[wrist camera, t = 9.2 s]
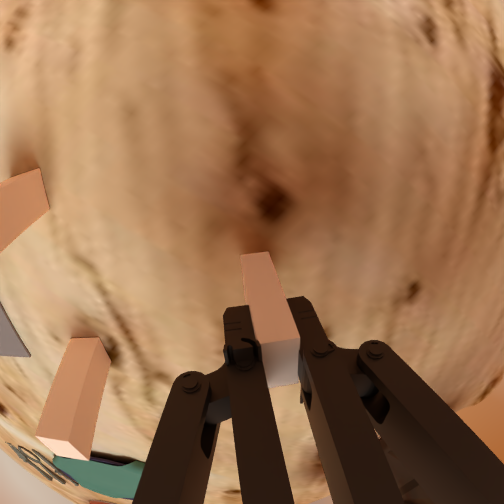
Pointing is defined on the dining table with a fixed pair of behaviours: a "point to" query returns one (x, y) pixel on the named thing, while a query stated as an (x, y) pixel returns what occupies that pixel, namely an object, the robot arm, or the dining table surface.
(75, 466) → the cutlery set
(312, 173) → the dining table surface
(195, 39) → the dining table surface
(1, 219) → the gate post
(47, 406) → the gate post
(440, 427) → the robot arm
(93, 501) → the canned food
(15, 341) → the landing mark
